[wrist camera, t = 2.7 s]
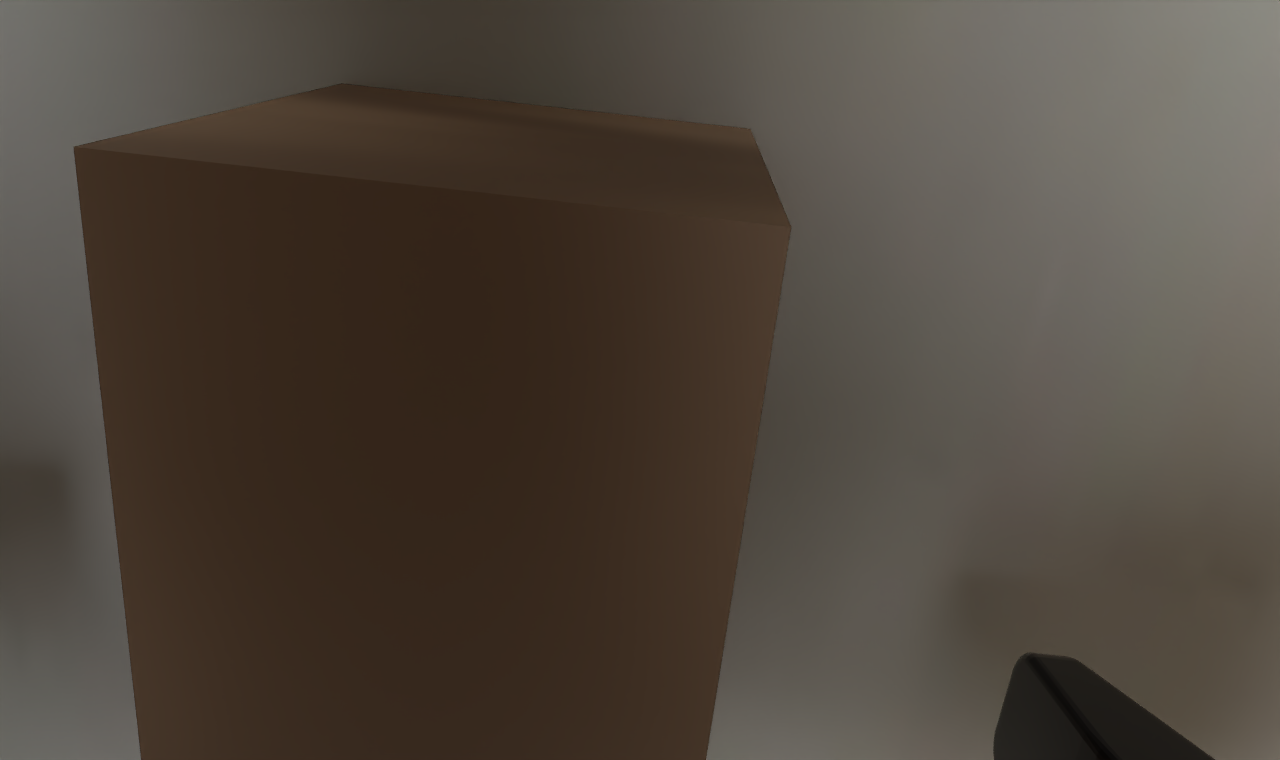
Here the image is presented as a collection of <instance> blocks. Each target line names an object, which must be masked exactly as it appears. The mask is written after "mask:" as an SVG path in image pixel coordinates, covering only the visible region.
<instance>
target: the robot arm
mask: <svg viewBox="0 0 1280 760" xmlns="http://www.w3.org/2000/svg"><path fill="white" fill-rule="evenodd" d="M993 751H994V760H1215V759H1214V758H1212V757H1211V756H1209V755H1208V754H1207V753H1205V752H1204V751H1202V750H1201V749H1200V748H1198V747H1197V746H1196V745H1194V744H1193V743H1191V742H1190V741H1189V740H1187V739H1186V738H1184V737H1183V736H1182V735H1180V734H1179V733H1178V732H1176V731H1175V730H1173V729H1172V728H1171V727H1169V726H1168V725H1166V724H1165V723H1164V722H1162V721H1161V720H1160V719H1158V718H1157V717H1155V716H1154V715H1153V714H1151V713H1150V712H1148V711H1147V710H1146V709H1144V708H1143V707H1142V706H1140V705H1139V704H1137V703H1136V702H1135V701H1133V700H1132V699H1130V698H1129V697H1128V696H1126V695H1125V694H1124V693H1122V692H1121V691H1119V690H1118V689H1117V688H1115V687H1114V686H1112V685H1111V684H1110V683H1108V682H1107V681H1106V680H1104V679H1103V678H1101V677H1100V676H1099V675H1097V674H1096V673H1095V672H1093V671H1092V670H1090V669H1089V668H1088V667H1086V666H1085V665H1083V664H1082V663H1081V662H1079V661H1078V660H1076V659H1073V658H1070V657H1065V656H1056V655H1047V654H1038V653H1026V654H1024V655H1023V656H1021V657H1020V658H1019V659H1018V661H1017V662H1016V664H1015V666H1014V669H1013V672H1012V676H1011V679H1010V682H1009V686H1008V689H1007V693H1006V696H1005V699H1004V703H1003V706H1002V710H1001V713H1000V716H999V720H998V723H997V727H996V730H995V735H994V749H993Z"/></svg>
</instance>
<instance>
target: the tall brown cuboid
mask: <svg viewBox="0 0 1280 760" xmlns="http://www.w3.org/2000/svg"><path fill="white" fill-rule="evenodd" d="M74 155H75V164H76V173H77V182H78V191H79V200H80V209H81V218H82V227H83V236H84V245H85V255H86V264H87V273H88V282H89V291H90V300H91V309H92V318H93V327H94V336H95V345H96V354H97V363H98V372H99V381H100V390H101V399H102V408H103V417H104V426H105V435H106V444H107V453H108V463H109V472H110V481H111V490H112V499H113V508H114V517H115V526H116V535H117V544H118V553H119V562H120V571H121V580H122V589H123V598H124V607H125V616H126V625H127V634H128V643H129V652H130V661H131V671H132V680H133V689H134V698H135V707H136V716H137V725H138V734H139V743H140V752H141V760H706V755H707V749H708V743H709V737H710V730H711V724H712V718H713V712H714V705H715V699H716V693H717V687H718V681H719V674H720V668H721V662H722V656H723V649H724V643H725V637H726V631H727V624H728V618H729V612H730V606H731V599H732V593H733V587H734V581H735V575H736V568H737V562H738V556H739V550H740V543H741V537H742V531H743V525H744V518H745V512H746V506H747V500H748V493H749V487H750V481H751V475H752V469H753V462H754V456H755V450H756V444H757V437H758V431H759V425H760V419H761V412H762V406H763V400H764V394H765V388H766V381H767V375H768V369H769V363H770V356H771V350H772V344H773V338H774V331H775V325H776V319H777V313H778V306H779V300H780V294H781V288H782V282H783V275H784V269H785V263H786V257H787V250H788V244H789V238H790V232H791V225H790V223H789V221H788V218H787V216H786V213H785V211H784V209H783V206H782V204H781V201H780V199H779V197H778V194H777V192H776V189H775V187H774V185H773V182H772V180H771V177H770V175H769V173H768V170H767V168H766V165H765V163H764V161H763V158H762V156H761V153H760V151H759V149H758V146H757V144H756V141H755V139H754V137H753V134H752V132H751V129H747V128H738V127H729V126H720V125H711V124H702V123H693V122H683V121H674V120H665V119H656V118H647V117H638V116H629V115H620V114H611V113H602V112H593V111H584V110H575V109H566V108H557V107H548V106H539V105H530V104H521V103H512V102H503V101H494V100H485V99H476V98H467V97H458V96H449V95H440V94H431V93H422V92H413V91H404V90H395V89H386V88H377V87H368V86H359V85H350V84H337V85H333V86H329V87H325V88H320V89H316V90H312V91H308V92H304V93H299V94H295V95H291V96H287V97H282V98H278V99H274V100H270V101H265V102H261V103H257V104H253V105H249V106H244V107H240V108H236V109H232V110H227V111H223V112H219V113H215V114H210V115H206V116H202V117H198V118H194V119H189V120H185V121H181V122H177V123H172V124H168V125H164V126H160V127H155V128H151V129H147V130H143V131H139V132H134V133H130V134H126V135H122V136H117V137H113V138H109V139H105V140H100V141H96V142H92V143H88V144H83V145H79V146H75V147H74Z"/></svg>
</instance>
